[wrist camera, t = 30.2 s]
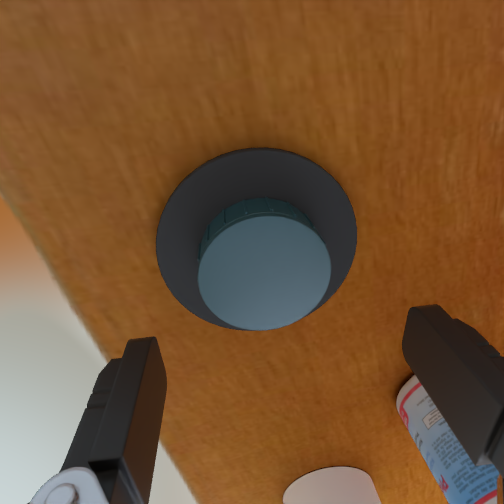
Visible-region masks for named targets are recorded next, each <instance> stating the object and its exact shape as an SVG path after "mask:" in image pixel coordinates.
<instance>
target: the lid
mask: <svg viewBox="0 0 504 504" xmlns="http://www.w3.org/2000/svg"><path fill="white" fill-rule="evenodd" d="M197 261H198V262H199V265H198V275H197V282H198V286H199V290H200V293H201V296H202V299H203V300H204V302H205V304H206V305H207V307H208V308H209V309H210V310H211V311H212V312H213V313H214V314H215V315H216V316H217V317H218V318H220V319H221V320H223V321H224V322H226V323H228V324H230V325H233V326H235V327H239V328H242V329H247V330H259V331H260V330H271V329H277V328H281V327H284V326H287V325H289V324H292V323H294V322H296V321H298V320H299V319H301V318H303V317H304V316H305V315H307V314H308V313H309V312H310V311H311V310H313V309H314V308H315V307H316V305H317V304H318V303H319V302H320V301H321V299H322V297H323V296H324V294H325V292H326V290H327V288H328V285H329V282H330V277H331V260H330V256H329V252H328V250H327V248H326V243H325V242H324V240H323V239H322V237H321V236H320V234H319V233H318V231H317V230H316V229H315V227H314V225H313V224H312V222H311V221H310V219H309V218H308V216H307V215H306V213H304V214H303V213H302V212H301V211H300V210H298V209H297V208H296V207H294V206H292V205H290V203H289V202H287V203H286V202H283V201H280V200H276V199H270V198H268V197H265V198H254V199H248V200H245V199H243V200H242V201H241V202H238V203H236V204H233V205H232V206H230V207H228V208H226V209H225V210H224V209H223V210H222V212H221V213H219V214H218V215H217V216H216V217H215V218H214V219H213V221H212V222H211V223H210V224H209V225H207V229H206V231H205V233H204V236H203V238H202V242H201V243H199V250H198V260H197Z"/></svg>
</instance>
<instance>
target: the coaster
mask: <svg viewBox="0 0 504 504" xmlns="http://www.w3.org/2000/svg"><path fill="white" fill-rule="evenodd" d="M265 197H268V198H270V199H276V200H280V201H283V202H286V203H287V202H289V203H290V205H292V206H294V207H296V208H297V209H298V210H300V211H301V212H302V213H303V214H304V213H306V215H307V216H308V218H309V219H310V221H311V222H312V224H313V225H314V227H315V229H316V230H317V231H318V233H319V234H320V236H321V237H322V239H323V240H324V242H325V243H326V248H327V250H328V252H329V256H330V260H331V277H330V282H329V285H328V288H327V290H326V292H325V294H324V296H323V297H322V299H321V301H320V302H319V303H318V304H317V305H316V307H315V308H314V309H313V310H311V311H310V312H309V313H308V314H307V315H309V314H310V313H312V312H313V311H315V310H317V309H318V308H319V307H320V306H322V305H323V304H324V303H325V302H326V301H327V300H328V299H329V298H330V297H331V296H332V295H333V294H334V293H335V292H336V291H337V289H338V288H339V287H340V285H341V284H342V282H343V281H344V279H345V277H346V276H347V274H348V272H349V269H350V267H351V265H352V262H353V258H354V255H355V250H356V244H357V227H356V219H355V215H354V212H353V208H352V206H351V203H350V201H349V199H348V197H347V195H346V194H345V192H344V191H343V189H342V187H341V186H340V185H339V184H338V182H337V181H336V180H335V179H334V178H333V177H332V176H331V175H330V174H329V173H327V172H326V171H325V170H324V169H323V168H321V167H320V166H319V165H317V164H316V163H314V162H312V161H311V160H309V159H307V158H305V157H303V156H300V155H298V154H296V153H293V152H289V151H285V150H281V149H274V148H247V149H241V150H236V151H232V152H229V153H226V154H222V155H220V156H218V157H216V158H214V159H211V160H209V161H207V162H206V163H204V164H203V165H201V166H200V167H198V168H196V169H195V170H194V171H193V172H192V173H190V174H189V175H188V176H187V177H186V178H185V179H184V180H183V181H182V182H181V183H180V184H179V185H178V187H177V188H176V189H175V191H174V192H173V194H172V195H171V197H170V198H169V200H168V202H167V204H166V206H165V208H164V210H163V213H162V215H161V218H160V222H159V225H158V229H157V237H156V254H157V260H158V265H159V268H160V271H161V275H162V277H163V279H164V281H165V283H166V285H167V287H168V288H169V290H170V291H171V292H172V294H173V295H174V296H175V298H176V299H177V300H178V301H179V302H180V303H181V304H182V305H183V306H184V307H185V308H187V309H188V310H189V311H190V312H192V313H193V314H195V315H196V316H198V317H200V318H202V319H204V320H206V321H208V322H210V323H212V324H215V325H218V326H221V327H225V328H229V329H236V330H247V329H242V328H239V327H235V326H233V325H230V324H228V323H226V322H224V321H223V320H221V319H220V318H218V317H217V316H216V315H215V314H214V313H213V312H212V311H211V310H210V309H209V308H208V307H207V305H206V304H205V302H204V300H203V299H202V296H201V293H200V290H199V286H198V282H197V275H198V265H199V262H198V261H197V260H198V250H199V243H201V242H202V238H203V236H204V233H205V231H206V229H207V225H209V224H210V223H211V222H212V221H213V219H214V218H215V217H216V216H217V215H218V214H219V213H221V212H222V210H223V209H224V210H225V209H226V208H228V207H230V206H232V205H233V204H236V203H238V202H241V201H242V200H243V199H245V200H248V199H254V198H265ZM307 315H305V316H307ZM305 316H304V317H305ZM299 320H300V319H299ZM249 331H255V330H249Z"/></svg>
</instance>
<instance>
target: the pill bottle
mask: <svg viewBox="0 0 504 504" xmlns="http://www.w3.org/2000/svg"><path fill="white" fill-rule="evenodd" d="M396 406H397V410H398V413H399V415H400V416H401V418H402V420H403V422H404V424H405V426H406V427H407V429H408V431H409V433H410V434H411V436H412V438H413V440H414V442H415V443H416V445H417V447H418V449H419V451H420V452H421V454H422V456H423V458H424V460H425V461H426V463H427V465H428V467H429V468H430V470H431V472H432V474H433V476H434V477H435V479H436V481H437V483H438V485H439V486H440V488H441V490H442V492H443V493H444V495H445V497H446V499H447V501H448V502H449V504H497V477H498V474H499V472H498V470H497V469H496V467H495V466H494V465H493V464H487V465H480V466H475V465H474V463H473V462H472V460H471V459H470V457H469V456H468V454H467V453H466V451H465V450H464V448H463V447H462V445H461V444H460V442H459V441H458V439H457V438H456V436H455V435H454V433H453V432H452V430H451V428H450V427H449V425H448V424H447V422H446V421H445V419H444V418H443V416H442V415H441V413H440V412H439V410H438V409H437V407H436V406H435V404H434V403H433V401H432V400H431V398H430V397H429V395H428V394H427V392H426V391H425V389H424V388H423V386H422V385H421V383H420V382H419V380H418V379H417V377H416V375H414V376H413V377H412V378H411V379H410V380H409V381H408V382H407V383H406V384H405V385H404V386H403V387H402V388H401V390H400V392H399V394H398V396H397V400H396Z"/></svg>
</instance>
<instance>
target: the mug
mask: <svg viewBox="0 0 504 504" xmlns="http://www.w3.org/2000/svg"><path fill="white" fill-rule="evenodd" d="M283 504H381V502H380V499H379V497H378V494H377V492H376V489H375V487H374V484H373V481H372V479H371V477H370V476H369V475H368V474H367V473H366V472H364V471H362V470H360V469H357V468H352V467H330V468H324V469H320V470H317V471H314V472H311V473H308V474H306V475H304V476H302V477H300V478H299V479H297V480H296V481H294V482H293V483H292V484H291V485H290V486H289V487H288V488H287V490H286V491H285V493H284V496H283Z"/></svg>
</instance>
